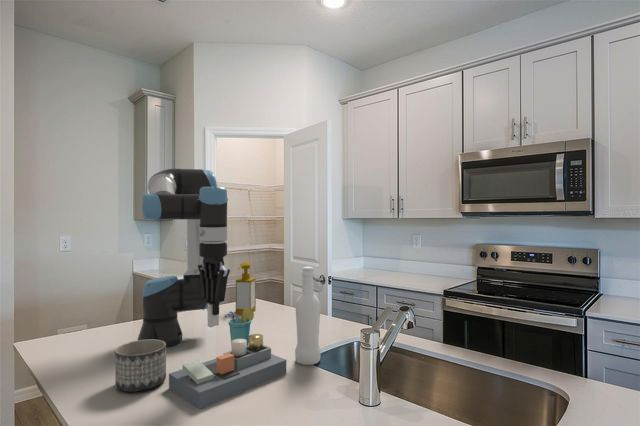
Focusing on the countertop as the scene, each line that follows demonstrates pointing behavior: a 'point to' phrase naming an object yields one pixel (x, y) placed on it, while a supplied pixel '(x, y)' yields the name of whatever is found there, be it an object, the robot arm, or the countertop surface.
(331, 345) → the countertop surface
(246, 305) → the soap bottle
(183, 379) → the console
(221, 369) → the slider knob
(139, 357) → the planter
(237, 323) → the cup
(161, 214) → the robot arm
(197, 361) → the block
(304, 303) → the bottle
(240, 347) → the button ivory
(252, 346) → the button brass
